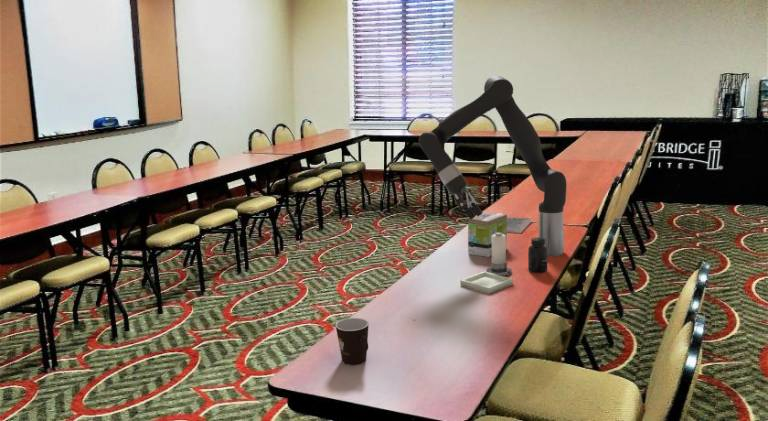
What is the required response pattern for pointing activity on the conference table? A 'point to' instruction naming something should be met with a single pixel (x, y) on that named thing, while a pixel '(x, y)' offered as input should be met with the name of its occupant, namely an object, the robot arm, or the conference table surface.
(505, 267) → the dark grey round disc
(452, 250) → the conference table surface
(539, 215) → the robot arm
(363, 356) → the coffee mug
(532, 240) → the supplement bottle
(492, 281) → the tray
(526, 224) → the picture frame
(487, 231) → the tea box
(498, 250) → the white knobbed cylinder
